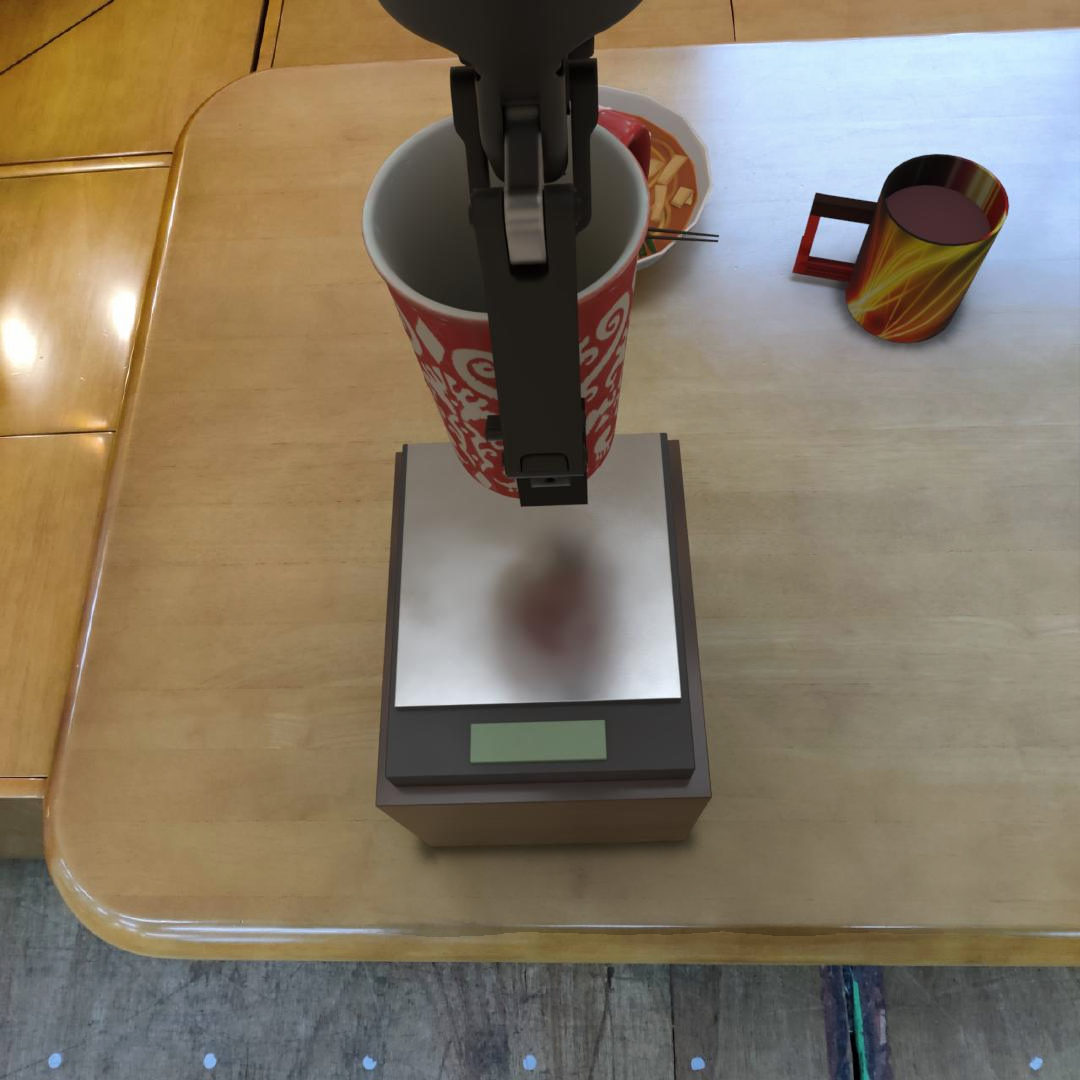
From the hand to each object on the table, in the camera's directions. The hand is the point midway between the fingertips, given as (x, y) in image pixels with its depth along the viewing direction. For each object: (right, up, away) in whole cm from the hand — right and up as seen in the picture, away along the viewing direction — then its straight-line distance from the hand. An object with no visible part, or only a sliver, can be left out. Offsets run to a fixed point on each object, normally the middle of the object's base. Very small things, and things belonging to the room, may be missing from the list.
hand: (551, 384), depth 40 cm
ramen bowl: (+4, +23, +49) cm, 55 cm away
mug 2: (+30, +15, +44) cm, 55 cm away
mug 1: (0, -1, +2) cm, 2 cm away
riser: (0, -18, +31) cm, 36 cm away
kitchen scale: (-1, -11, +14) cm, 18 cm away
